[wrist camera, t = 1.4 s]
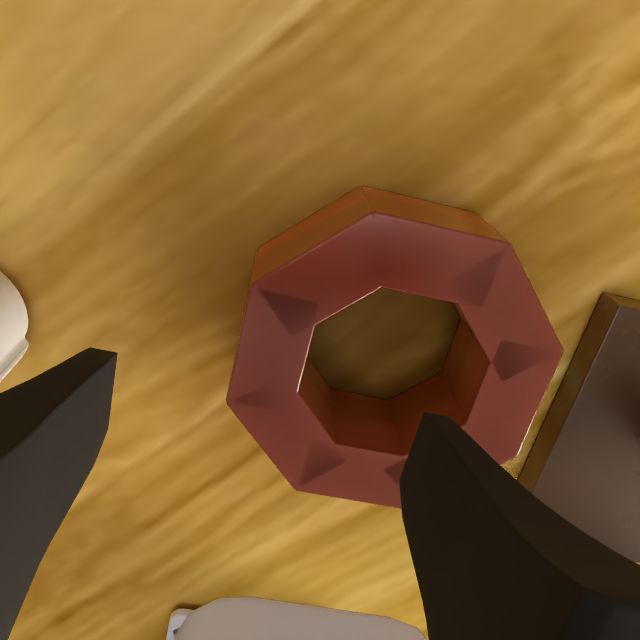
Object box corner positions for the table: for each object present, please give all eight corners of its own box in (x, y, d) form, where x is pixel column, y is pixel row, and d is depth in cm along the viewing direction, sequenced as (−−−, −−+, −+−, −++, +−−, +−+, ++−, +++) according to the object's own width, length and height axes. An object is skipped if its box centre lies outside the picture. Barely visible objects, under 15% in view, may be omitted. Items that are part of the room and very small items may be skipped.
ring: (462, 461, 23) (487, 524, 20) (222, 416, 22) (210, 476, 19) (554, 231, 20) (603, 264, 17) (274, 164, 19) (270, 186, 15)
